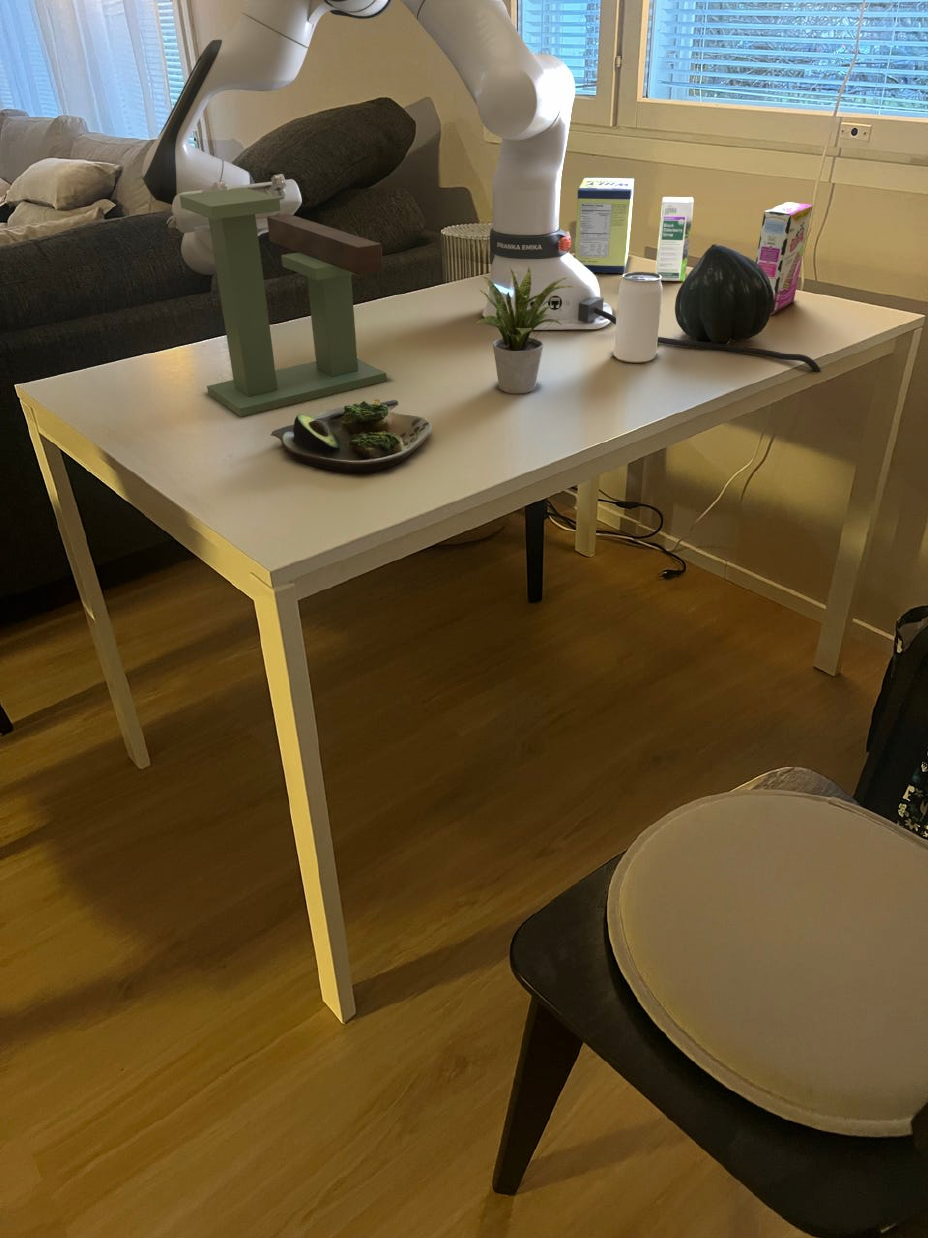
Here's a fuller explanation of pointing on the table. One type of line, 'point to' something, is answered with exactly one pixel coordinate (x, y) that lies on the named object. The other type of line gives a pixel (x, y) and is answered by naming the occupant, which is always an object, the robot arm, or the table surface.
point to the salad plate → (354, 437)
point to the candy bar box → (783, 249)
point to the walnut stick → (326, 244)
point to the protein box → (604, 223)
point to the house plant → (518, 334)
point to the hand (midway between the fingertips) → (252, 182)
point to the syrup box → (674, 238)
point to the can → (638, 317)
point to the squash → (724, 298)
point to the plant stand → (249, 315)
